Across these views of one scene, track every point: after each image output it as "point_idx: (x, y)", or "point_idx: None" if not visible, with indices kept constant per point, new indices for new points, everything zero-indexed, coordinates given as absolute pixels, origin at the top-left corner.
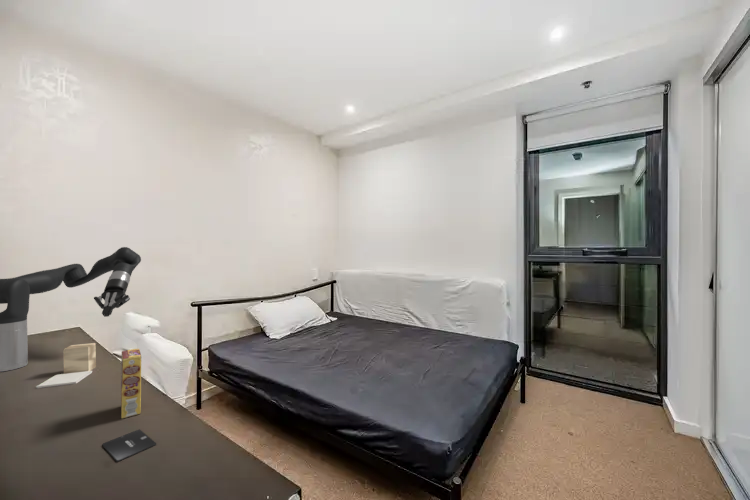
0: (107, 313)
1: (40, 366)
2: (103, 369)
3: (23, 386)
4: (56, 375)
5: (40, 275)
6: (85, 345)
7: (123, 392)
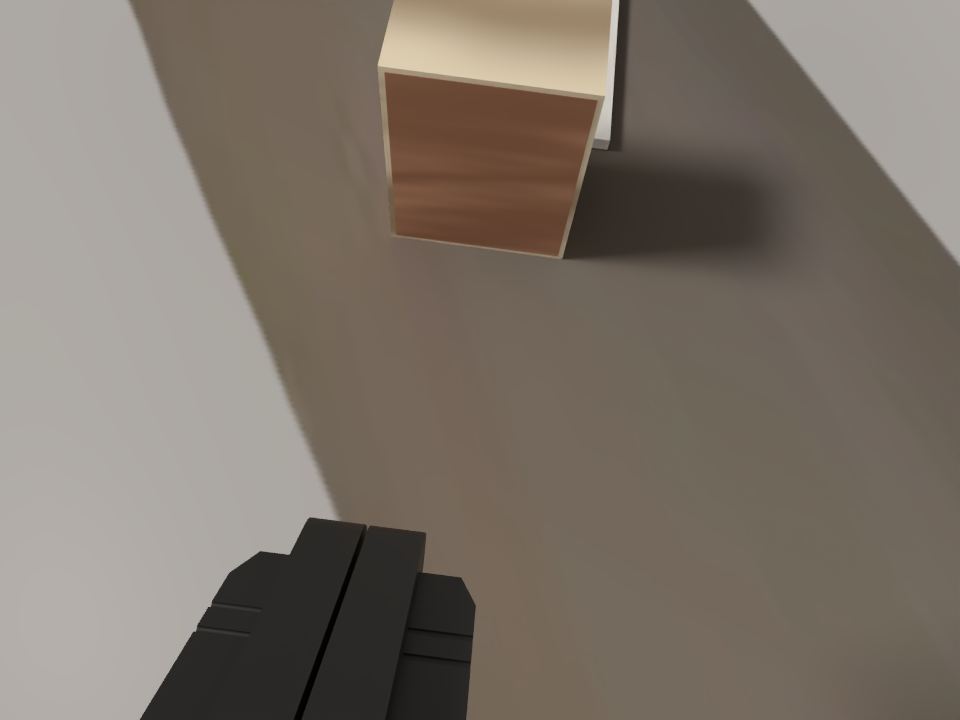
0: (306, 541)
1: (919, 513)
2: (317, 148)
3: (719, 59)
4: (599, 122)
5: None
6: (450, 18)
7: None
